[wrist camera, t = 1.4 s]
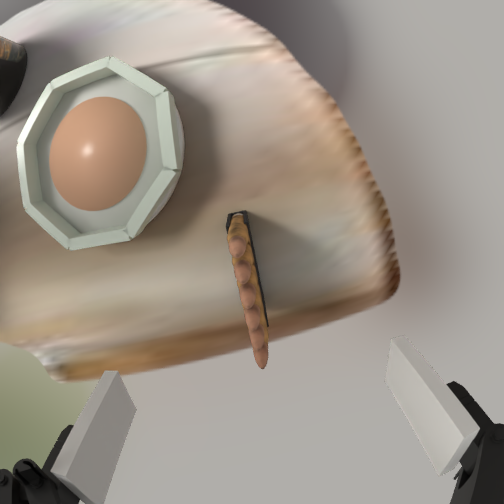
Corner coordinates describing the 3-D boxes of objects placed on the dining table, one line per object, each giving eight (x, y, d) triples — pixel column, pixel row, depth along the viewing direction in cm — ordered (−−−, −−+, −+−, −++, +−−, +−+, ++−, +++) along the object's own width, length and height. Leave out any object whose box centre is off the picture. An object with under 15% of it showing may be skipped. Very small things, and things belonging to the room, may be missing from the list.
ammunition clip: (265, 305, 32) (276, 375, 20) (248, 308, 32) (252, 379, 20) (246, 210, 29) (248, 237, 17) (227, 213, 29) (218, 243, 17)
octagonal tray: (52, 250, 29) (33, 260, 25) (33, 102, 24) (14, 98, 20) (197, 225, 29) (190, 234, 25) (175, 51, 24) (167, 36, 20)
